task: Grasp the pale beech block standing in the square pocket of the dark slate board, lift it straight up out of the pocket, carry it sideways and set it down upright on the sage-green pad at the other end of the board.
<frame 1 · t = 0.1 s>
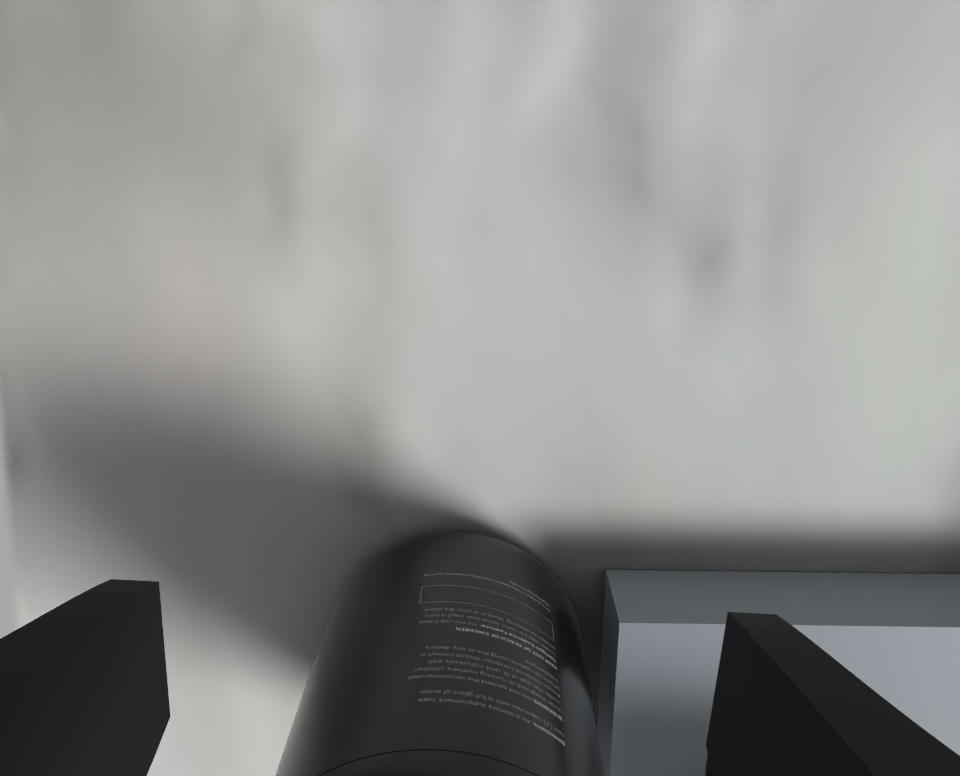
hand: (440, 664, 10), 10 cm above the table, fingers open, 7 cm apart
supplement bottle: (455, 629, 22), on the table
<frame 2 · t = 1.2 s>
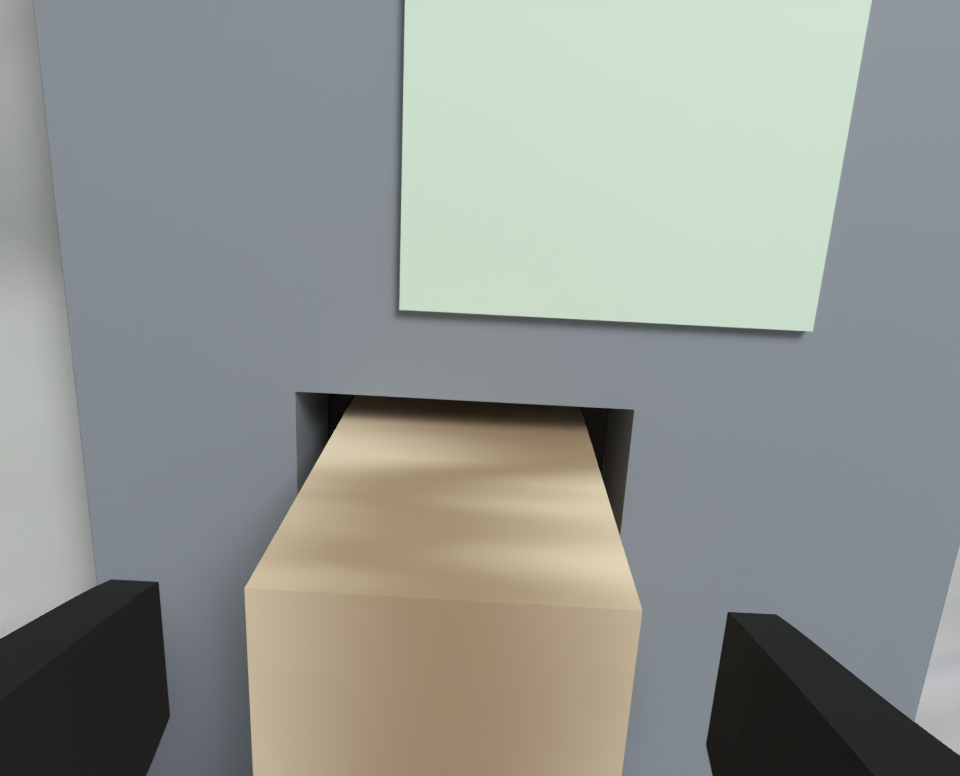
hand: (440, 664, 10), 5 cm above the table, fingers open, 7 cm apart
pocket board: (526, 340, 14), on the table
beech block: (464, 488, 15), resting in pocket board
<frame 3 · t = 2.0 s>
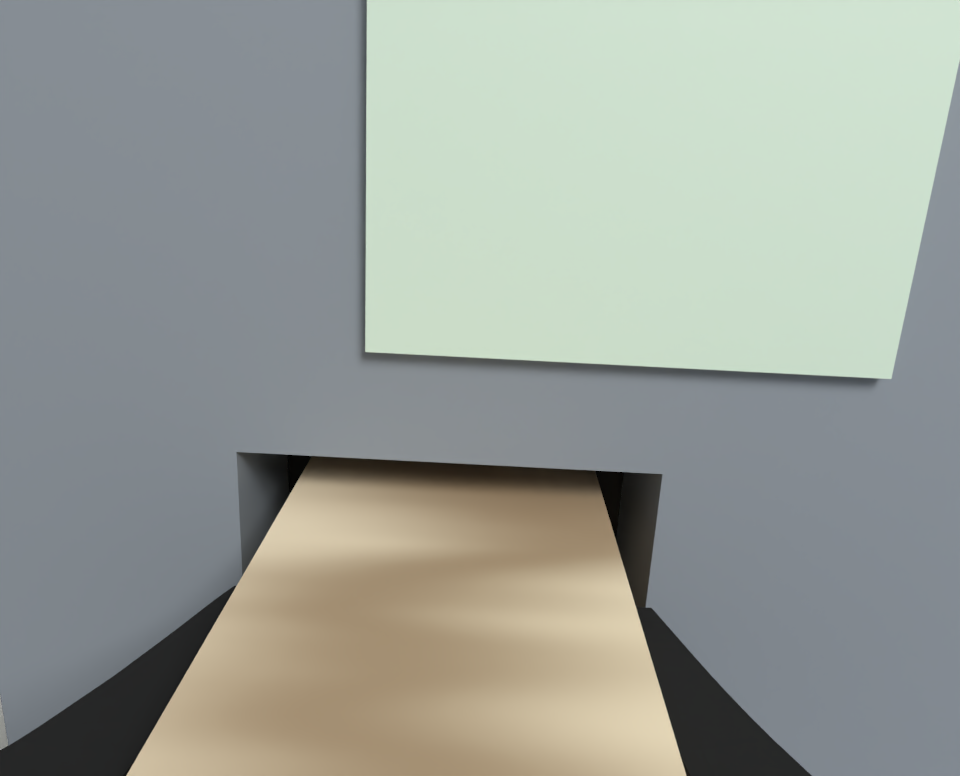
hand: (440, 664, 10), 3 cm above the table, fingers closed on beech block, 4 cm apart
pocket board: (526, 378, 12), on the table
beech block: (451, 553, 13), resting in pocket board, touching gripper
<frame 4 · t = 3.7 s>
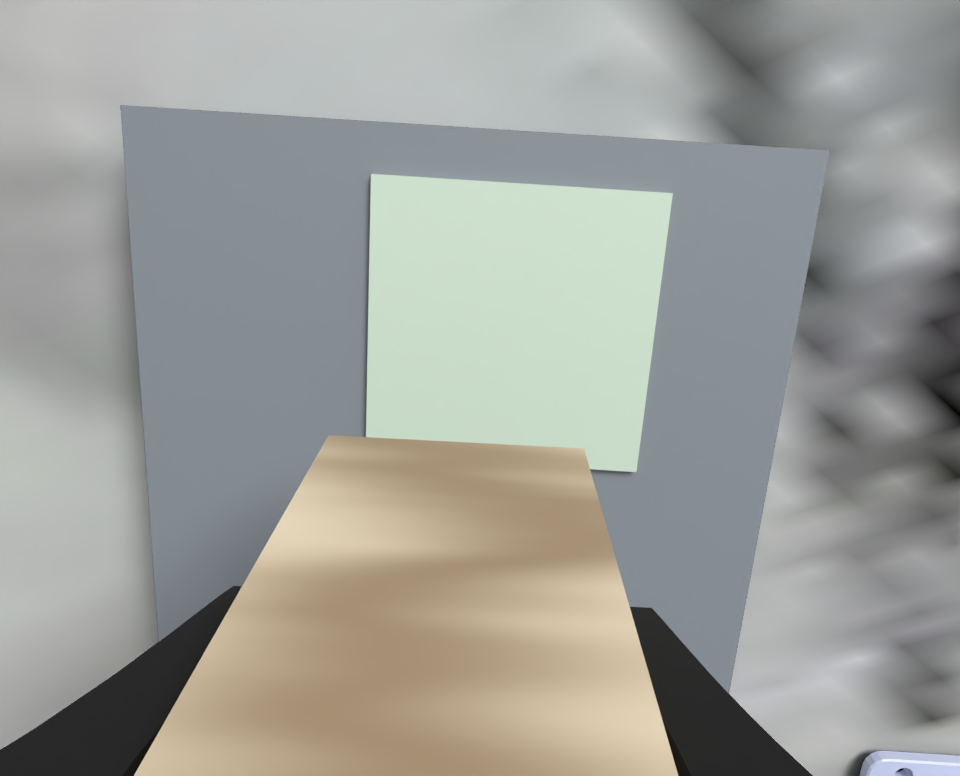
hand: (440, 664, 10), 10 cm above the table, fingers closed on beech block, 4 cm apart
pocket board: (458, 457, 20), on the table
beech block: (451, 555, 13), point 7 cm above the table, touching gripper
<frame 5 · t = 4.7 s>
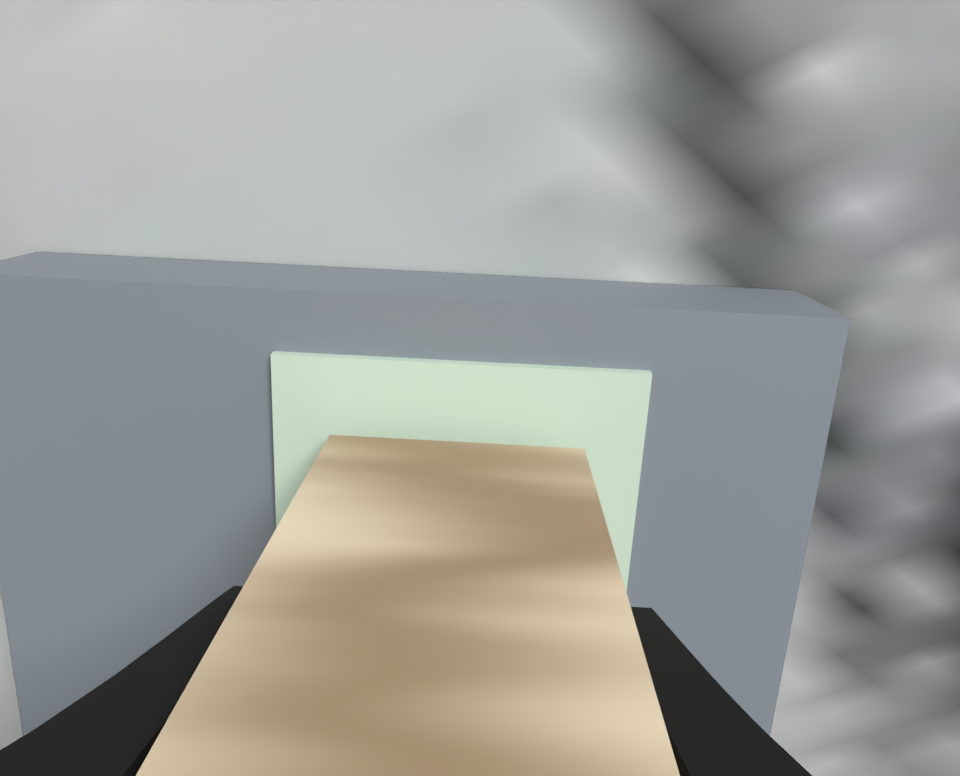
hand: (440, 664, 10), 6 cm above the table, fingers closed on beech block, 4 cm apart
pocket board: (406, 641, 17), on the table
beech block: (451, 555, 13), point 3 cm above the table, touching gripper
when the fingers open (6 cm above the table, at t = 5.5 s): beech block stays where it is, resting on pocket board.
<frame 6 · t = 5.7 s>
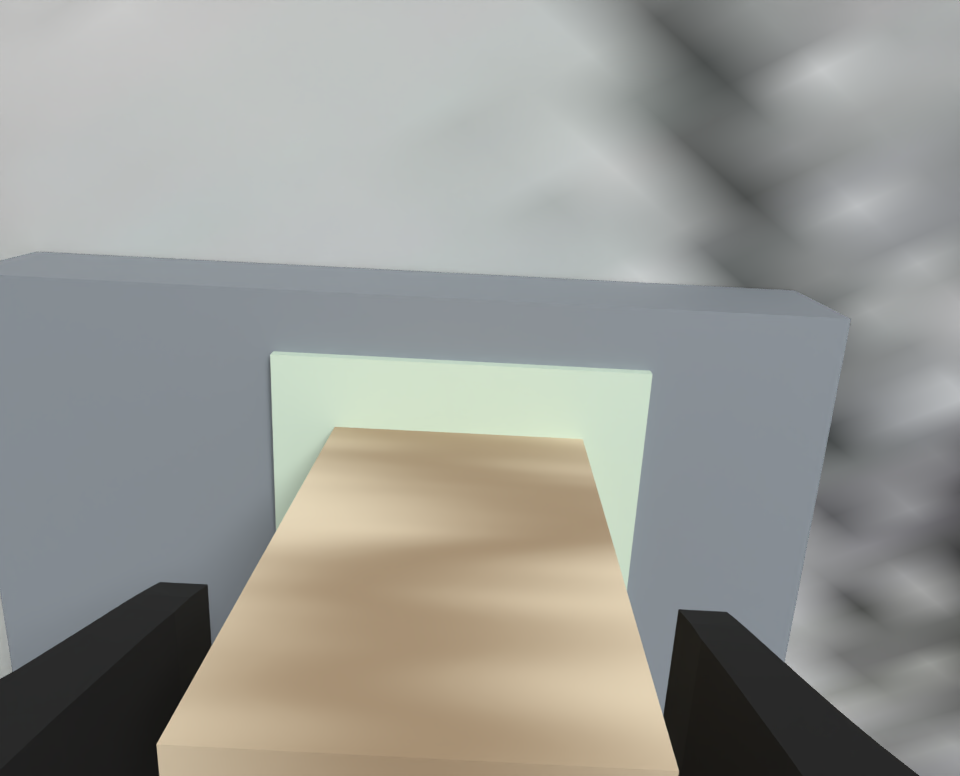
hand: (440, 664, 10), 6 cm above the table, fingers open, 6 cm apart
pocket board: (406, 642, 17), on the table
beech block: (454, 543, 13), point 3 cm above the table, touching pocket board
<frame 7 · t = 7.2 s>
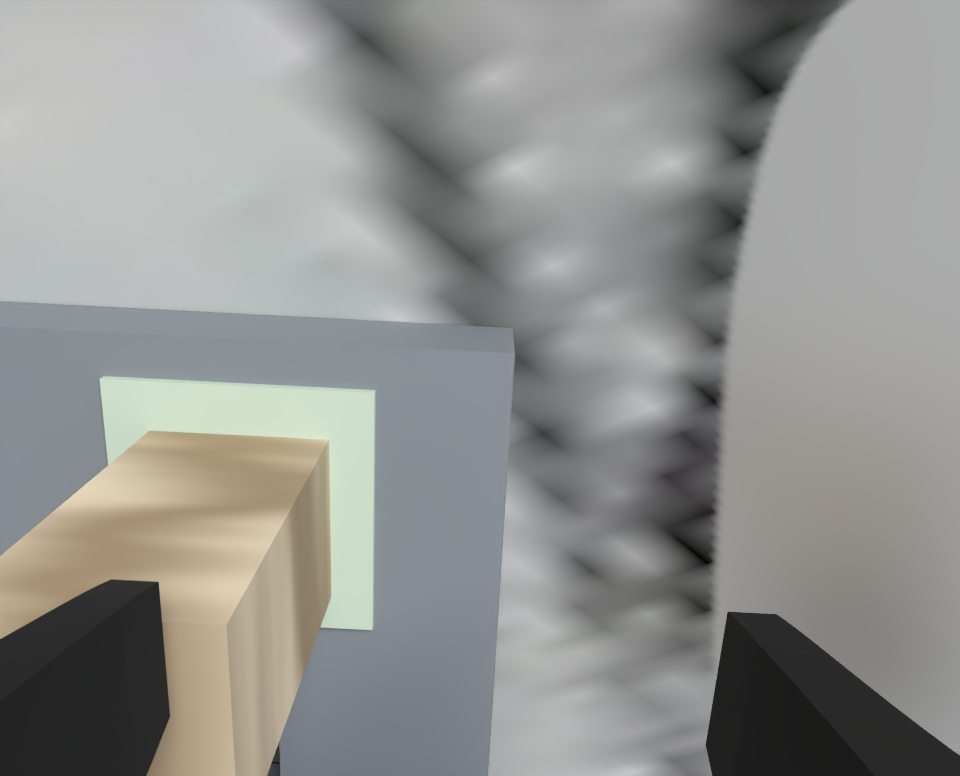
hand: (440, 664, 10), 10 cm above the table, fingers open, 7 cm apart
pocket board: (241, 597, 22), on the table
beech block: (243, 516, 18), point 3 cm above the table, touching pocket board
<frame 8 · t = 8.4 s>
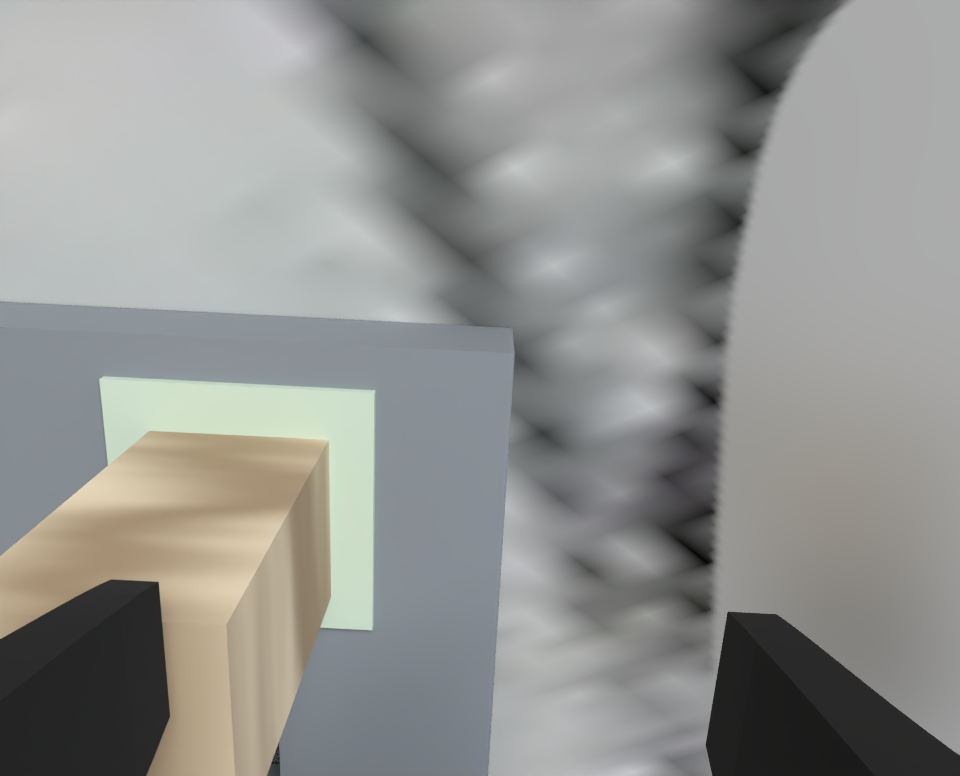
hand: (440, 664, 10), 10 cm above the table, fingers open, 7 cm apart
pocket board: (241, 597, 22), on the table
beech block: (243, 516, 18), point 3 cm above the table, touching pocket board
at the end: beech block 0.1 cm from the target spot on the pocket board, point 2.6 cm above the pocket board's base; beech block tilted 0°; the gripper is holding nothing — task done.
